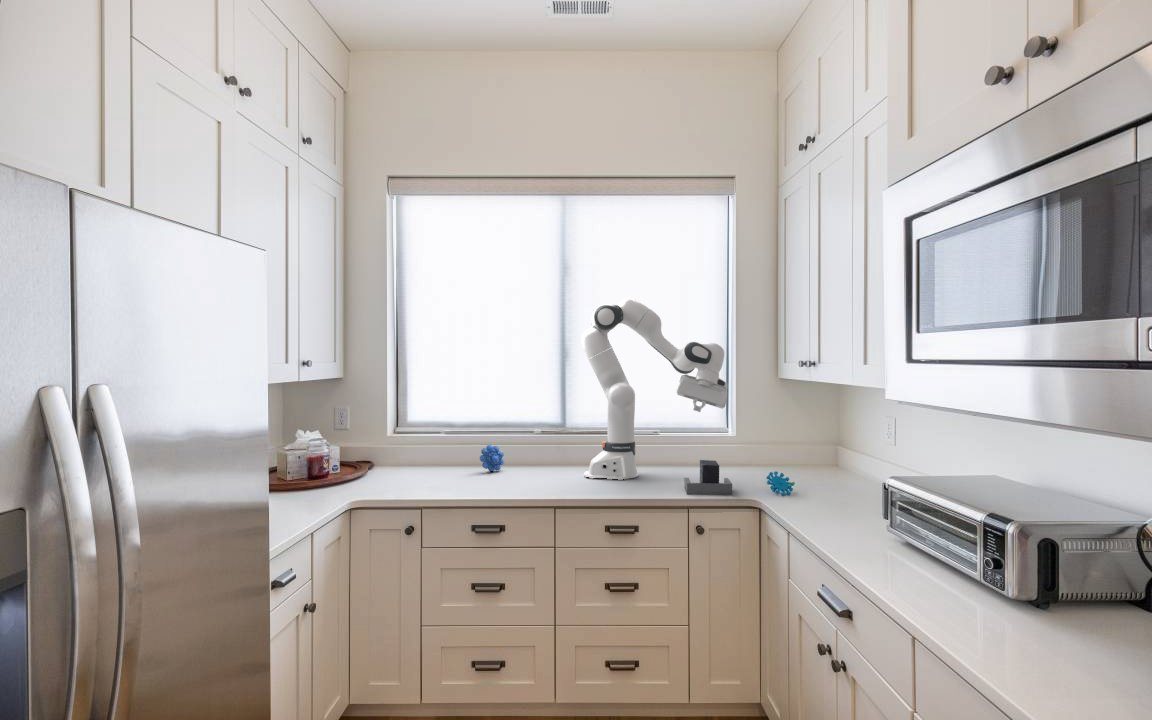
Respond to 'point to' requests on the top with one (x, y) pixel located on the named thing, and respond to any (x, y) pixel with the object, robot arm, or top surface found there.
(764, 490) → the top surface
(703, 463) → the small box
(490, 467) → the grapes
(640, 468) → the top surface
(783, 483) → the blue virus model
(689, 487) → the centring channel
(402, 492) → the top surface
